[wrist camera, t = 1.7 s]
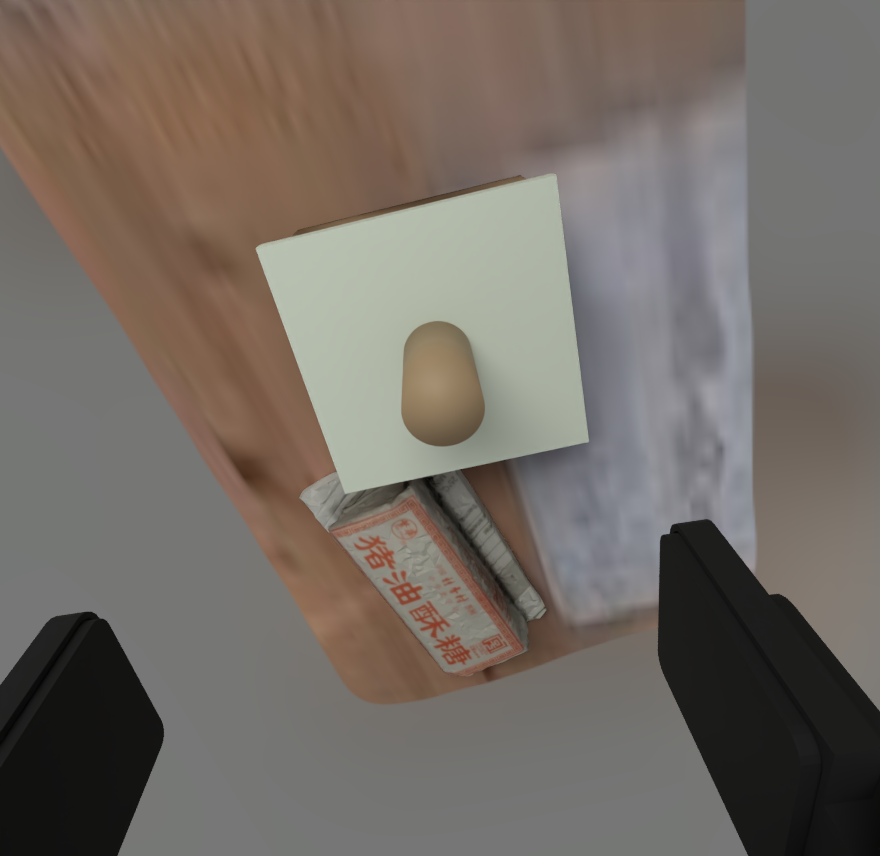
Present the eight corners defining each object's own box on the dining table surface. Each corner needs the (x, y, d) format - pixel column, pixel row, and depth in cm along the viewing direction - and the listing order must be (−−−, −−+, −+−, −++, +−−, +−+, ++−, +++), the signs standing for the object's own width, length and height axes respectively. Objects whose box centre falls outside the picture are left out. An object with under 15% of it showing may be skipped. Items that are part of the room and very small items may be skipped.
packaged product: (561, 649, 41) (435, 701, 43) (546, 599, 45) (433, 648, 47) (431, 457, 33) (286, 530, 35) (429, 418, 38) (300, 485, 40)
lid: (552, 172, 25) (595, 191, 19) (585, 434, 31) (625, 510, 25) (259, 244, 26) (213, 283, 20) (346, 485, 32) (331, 570, 26)
